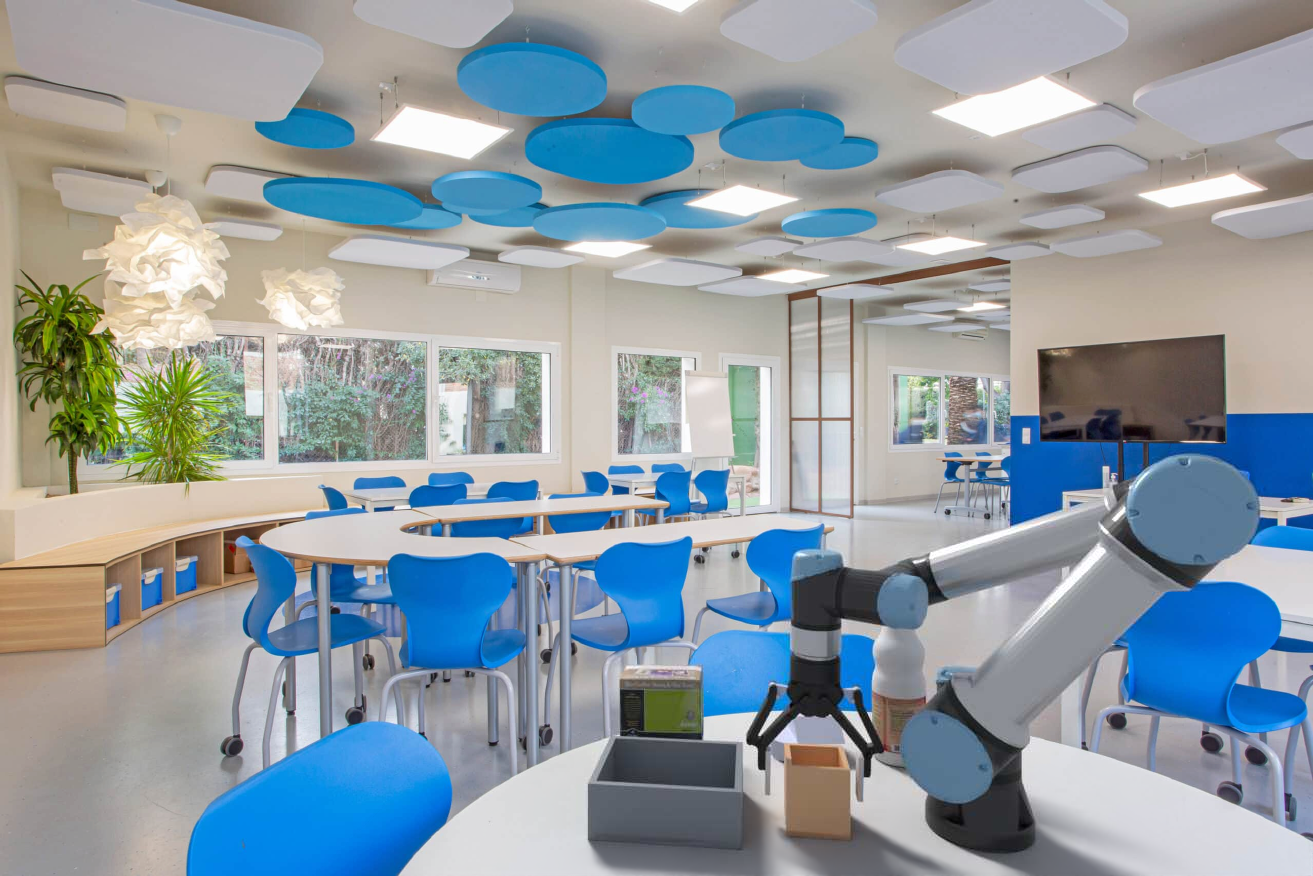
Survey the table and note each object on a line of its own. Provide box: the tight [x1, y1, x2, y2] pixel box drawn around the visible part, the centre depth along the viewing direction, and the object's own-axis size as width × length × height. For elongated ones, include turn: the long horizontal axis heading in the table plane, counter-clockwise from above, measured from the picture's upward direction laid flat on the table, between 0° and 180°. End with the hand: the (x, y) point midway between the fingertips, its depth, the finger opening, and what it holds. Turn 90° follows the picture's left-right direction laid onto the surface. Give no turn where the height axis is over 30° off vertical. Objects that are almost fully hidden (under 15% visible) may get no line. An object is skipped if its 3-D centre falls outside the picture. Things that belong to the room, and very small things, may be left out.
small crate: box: [783, 743, 852, 841], centre depth 113 cm, size 9×9×10 cm
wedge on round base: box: [770, 715, 846, 762], centre depth 139 cm, size 9×7×13 cm
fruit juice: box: [871, 626, 927, 768], centre depth 137 cm, size 9×9×28 cm
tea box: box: [619, 663, 705, 740], centre depth 140 cm, size 15×10×15 cm
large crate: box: [587, 735, 744, 851], centre depth 116 cm, size 22×18×8 cm
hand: (813, 794), depth 113 cm, fingers open, 13 cm apart
